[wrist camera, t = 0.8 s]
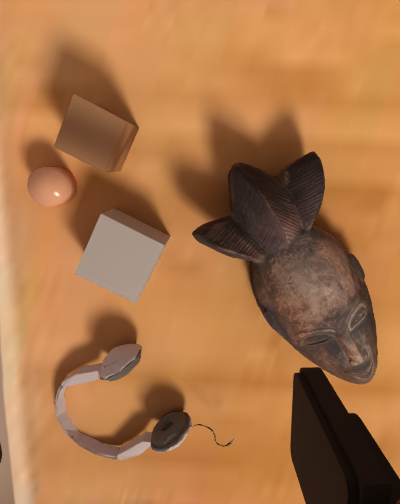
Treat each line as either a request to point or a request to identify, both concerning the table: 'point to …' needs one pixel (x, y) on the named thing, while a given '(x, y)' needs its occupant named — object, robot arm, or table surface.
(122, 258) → the grey block
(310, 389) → the robot arm
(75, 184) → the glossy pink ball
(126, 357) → the headphones
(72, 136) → the brown metal block
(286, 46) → the table surface
